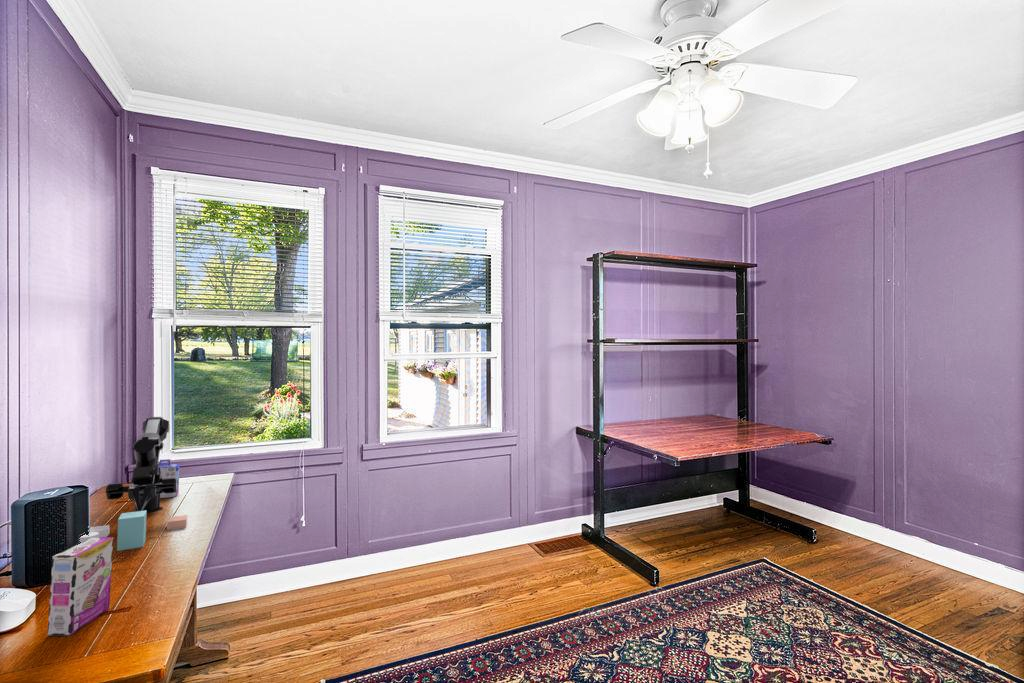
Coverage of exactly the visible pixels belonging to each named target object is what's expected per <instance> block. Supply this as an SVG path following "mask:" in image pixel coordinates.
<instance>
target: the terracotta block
mask: <svg viewBox="0 0 1024 683" xmlns="http://www.w3.org/2000/svg"><path fill="white" fill-rule="evenodd" d="M187 524H188V514H187V515H186V514H185V515H177V516H169V517H168V520H167V526H166V528H167V529H166V530H167V531H170V530H178V529H185V528H186V527H187Z"/></svg>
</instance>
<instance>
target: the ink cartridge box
mask: <svg viewBox="0 0 1024 683" xmlns="http://www.w3.org/2000/svg"><path fill="white" fill-rule="evenodd" d="M158 464H159V468H160V470H161V477H163V479H165V478H176V479H177V491H176V492H175V493H167V494H165V493H164V492H163V493H161V494H160V499H161V498H162V499H163V498H164V499H165V498H175V497H176V496H178V495H179V493H180V492H179V490H180V463H177V464H171V458H169V459H168V458H167V459H159V461H158Z"/></svg>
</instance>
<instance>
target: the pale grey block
mask: <svg viewBox="0 0 1024 683" xmlns="http://www.w3.org/2000/svg"><path fill="white" fill-rule="evenodd" d="M110 526H111V525H110V524H106V525H98V526H92V527H91V526H90V532H98V533H99V537H109V535H110Z"/></svg>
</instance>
